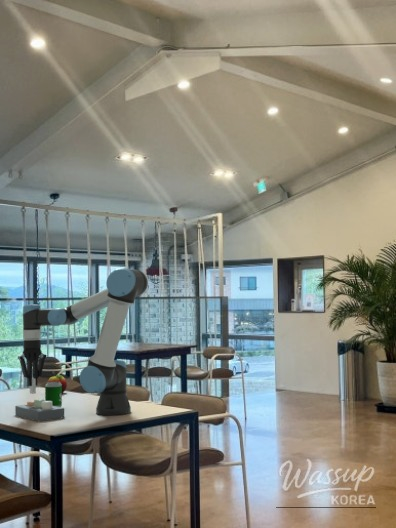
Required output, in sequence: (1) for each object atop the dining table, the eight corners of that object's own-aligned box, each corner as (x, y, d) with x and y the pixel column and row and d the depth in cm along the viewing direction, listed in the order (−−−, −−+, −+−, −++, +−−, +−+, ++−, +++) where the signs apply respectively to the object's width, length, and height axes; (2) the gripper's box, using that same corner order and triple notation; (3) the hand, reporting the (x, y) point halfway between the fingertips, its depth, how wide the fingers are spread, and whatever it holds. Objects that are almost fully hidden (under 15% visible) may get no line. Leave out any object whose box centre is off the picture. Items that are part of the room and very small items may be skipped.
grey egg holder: (64, 417, 278) (64, 408, 279) (38, 421, 271) (38, 411, 271) (40, 411, 295) (40, 402, 295) (15, 415, 288) (15, 405, 288)
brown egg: (39, 413, 288) (39, 401, 288) (29, 414, 285) (29, 403, 286) (34, 412, 291) (34, 400, 292) (25, 413, 289) (25, 402, 289)
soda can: (57, 409, 300) (57, 383, 301) (42, 409, 302) (42, 383, 303) (64, 407, 308) (64, 381, 308) (49, 407, 309) (49, 381, 310)
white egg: (54, 413, 277) (54, 401, 278) (44, 414, 275) (44, 402, 275) (49, 412, 281) (49, 400, 281) (39, 413, 278) (39, 401, 278)
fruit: (61, 391, 366) (61, 373, 367) (70, 393, 358) (70, 374, 359) (43, 393, 360) (43, 375, 360) (52, 395, 351) (52, 376, 352)
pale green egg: (46, 411, 283) (46, 400, 283) (37, 412, 280) (37, 401, 280) (41, 410, 286) (41, 399, 286) (32, 411, 283) (32, 400, 284)
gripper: (41, 338, 297) (42, 391, 296) (14, 340, 289) (15, 394, 287) (49, 338, 292) (50, 392, 290) (21, 340, 283) (22, 395, 282)
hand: (32, 393), depth 289 cm, fingers closed
